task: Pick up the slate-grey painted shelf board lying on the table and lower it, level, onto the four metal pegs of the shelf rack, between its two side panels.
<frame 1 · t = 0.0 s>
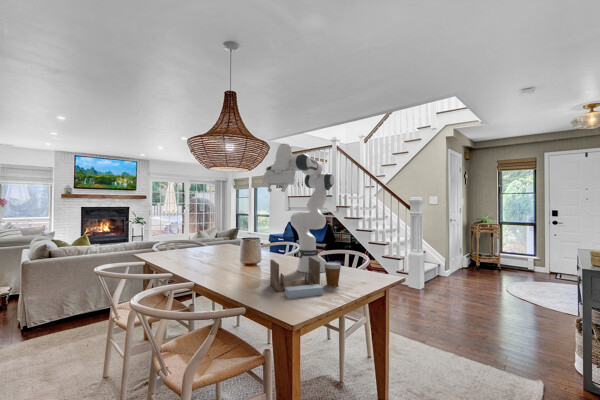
hand: (276, 191, 167), 52 cm above the table, tool tilted 20°, fingers open, 8 cm apart
shelf board: (303, 295, 147), on the table
shelf rack: (294, 286, 161), on the table
disposable coffee cup: (332, 285, 165), on the table
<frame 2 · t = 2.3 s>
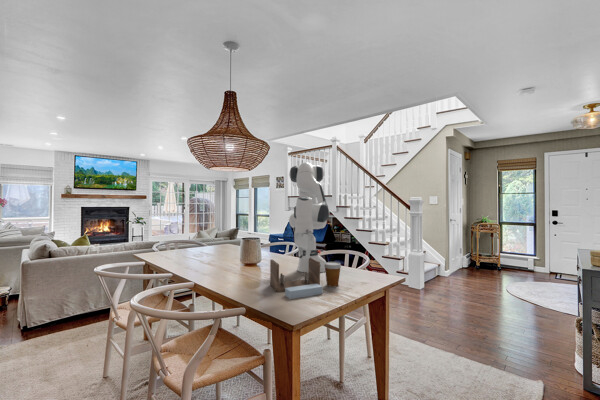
hand: (304, 256, 147), 19 cm above the table, tool pointing down, fingers open, 8 cm apart
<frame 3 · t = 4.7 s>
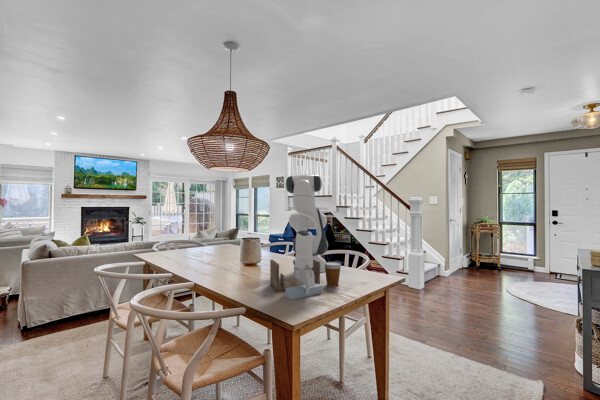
hand: (303, 291, 147), 2 cm above the table, tool pointing down, fingers closed on shelf board, 7 cm apart
shelf board: (303, 294, 147), on the table, touching gripper
everything else where it was.
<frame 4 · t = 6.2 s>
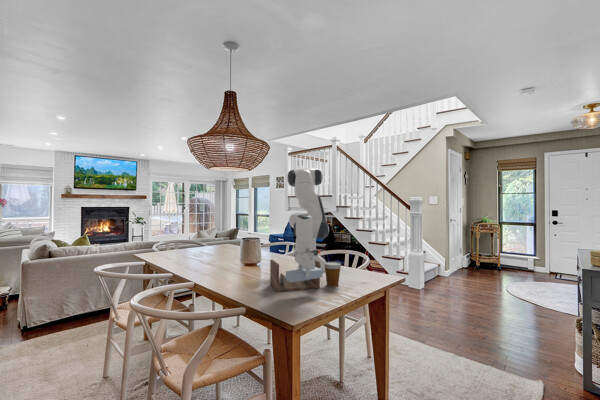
hand: (304, 274, 148), 10 cm above the table, tool pointing down, fingers closed on shelf board, 6 cm apart
shelf board: (304, 278, 148), point 8 cm above the table, touching gripper
everything else where it was.
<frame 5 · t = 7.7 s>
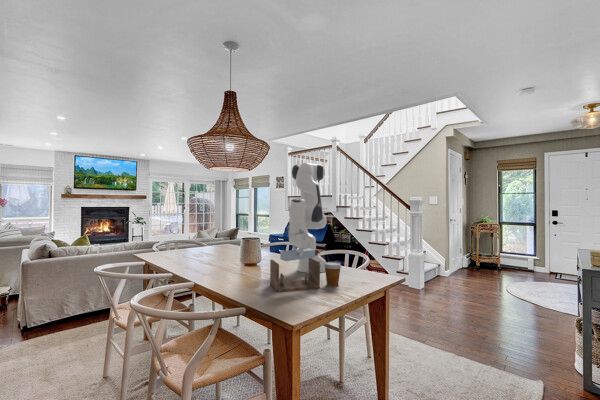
hand: (297, 254, 158), 18 cm above the table, tool pointing down, fingers closed on shelf board, 6 cm apart
shelf board: (297, 258, 158), point 16 cm above the table, touching gripper
everything else where it was.
when the fingers open (10 cm above the table, at t = 10.0 s): shelf board stays where it is, resting on shelf rack.
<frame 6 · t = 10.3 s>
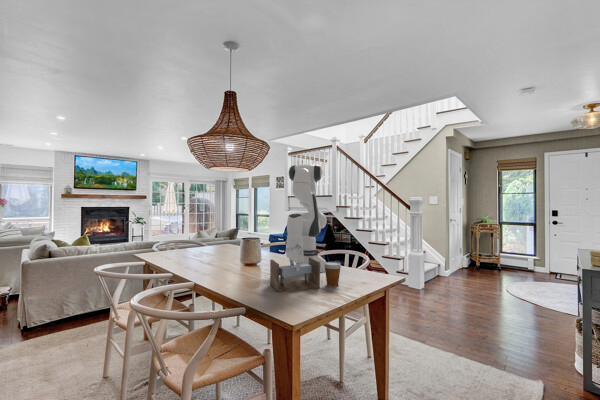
hand: (294, 268, 162), 10 cm above the table, tool pointing down, fingers open, 8 cm apart
shelf board: (294, 273, 162), point 7 cm above the table, touching shelf rack
everything else where it was.
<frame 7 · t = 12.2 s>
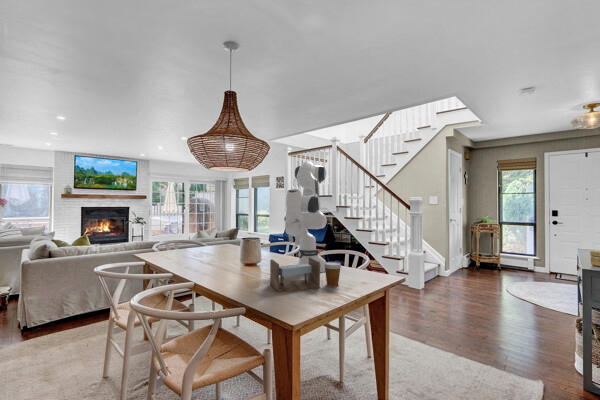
hand: (293, 243, 162), 23 cm above the table, tool pointing down, fingers open, 8 cm apart
nothing on the table moved.
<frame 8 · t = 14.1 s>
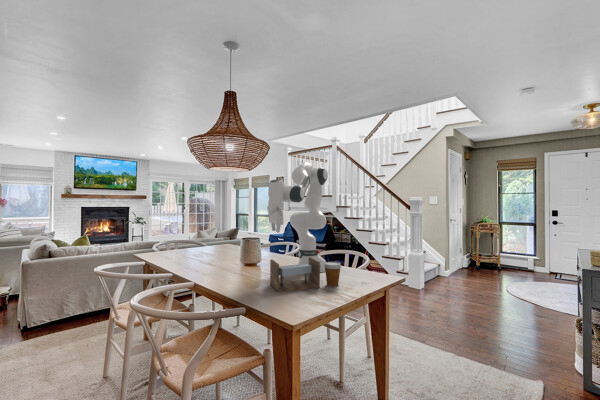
hand: (275, 231, 169), 29 cm above the table, tool pointing down, fingers open, 8 cm apart
nothing on the table moved.
at the end: shelf board 0.1 cm off-centre on the shelf rack, point 7.0 cm above the shelf rack's base; shelf board tilted 0°; the gripper is holding nothing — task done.
